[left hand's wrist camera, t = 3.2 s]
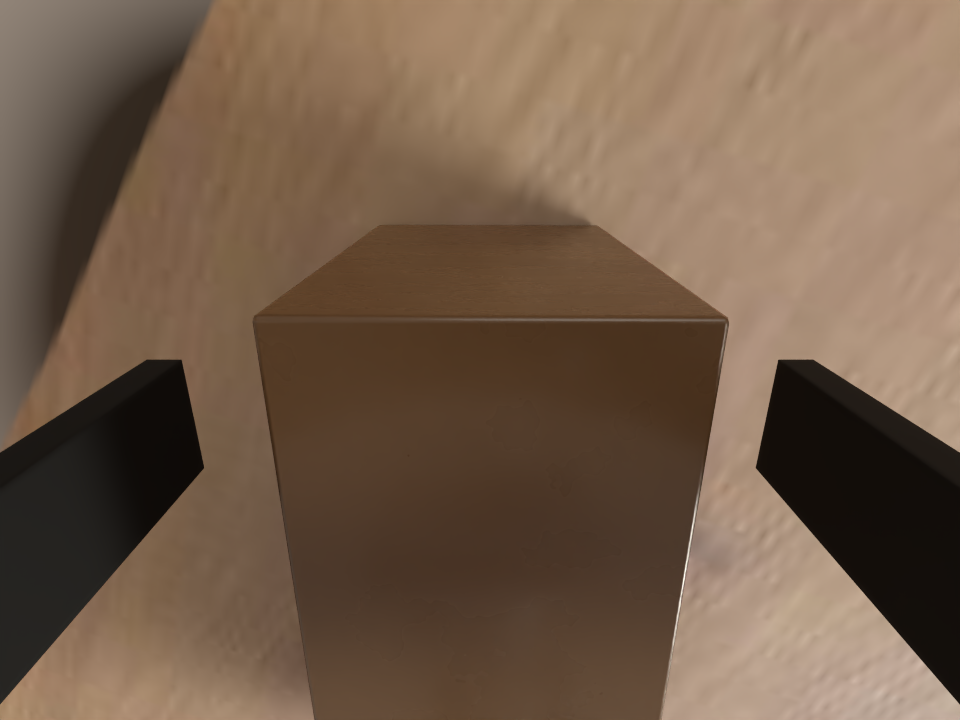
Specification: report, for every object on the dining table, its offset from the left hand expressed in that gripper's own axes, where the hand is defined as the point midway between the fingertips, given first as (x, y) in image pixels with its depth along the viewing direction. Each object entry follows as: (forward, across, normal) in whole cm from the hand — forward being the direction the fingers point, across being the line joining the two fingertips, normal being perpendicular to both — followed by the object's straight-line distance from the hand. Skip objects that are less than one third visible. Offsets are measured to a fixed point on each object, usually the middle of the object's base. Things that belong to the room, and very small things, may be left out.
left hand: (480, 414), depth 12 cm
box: (+5, 0, -7) cm, 8 cm away
